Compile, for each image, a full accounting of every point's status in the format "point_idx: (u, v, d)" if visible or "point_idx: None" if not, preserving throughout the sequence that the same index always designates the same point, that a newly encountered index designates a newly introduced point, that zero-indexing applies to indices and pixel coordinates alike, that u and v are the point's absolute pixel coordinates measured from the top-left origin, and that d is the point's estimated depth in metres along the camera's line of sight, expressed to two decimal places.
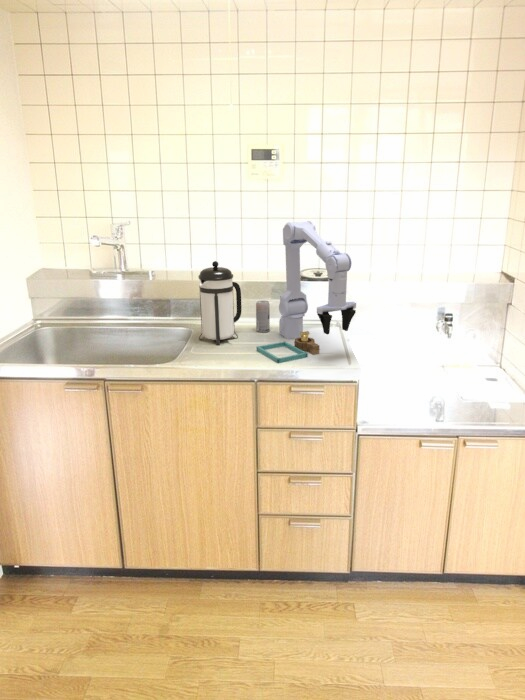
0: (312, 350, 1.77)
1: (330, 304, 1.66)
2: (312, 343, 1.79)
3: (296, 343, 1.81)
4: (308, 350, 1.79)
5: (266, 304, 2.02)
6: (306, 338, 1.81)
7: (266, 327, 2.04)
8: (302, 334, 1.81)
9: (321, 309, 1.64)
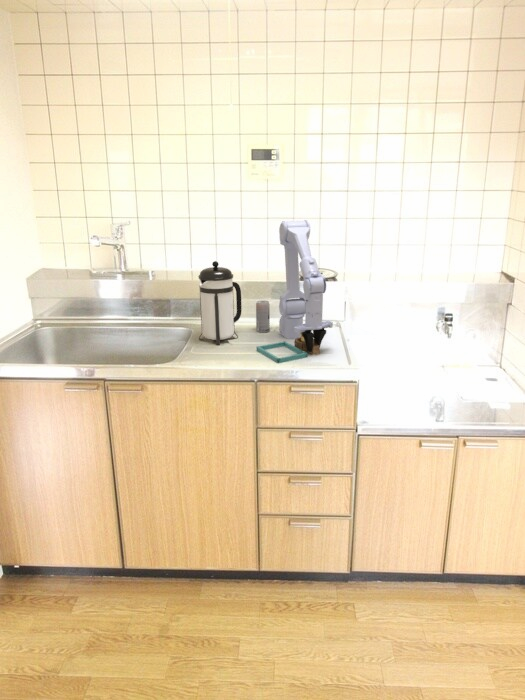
0: (312, 350, 1.77)
1: (307, 324, 1.74)
2: None
3: (296, 343, 1.81)
4: None
5: (266, 304, 2.02)
6: None
7: (266, 327, 2.04)
8: None
9: (298, 329, 1.72)
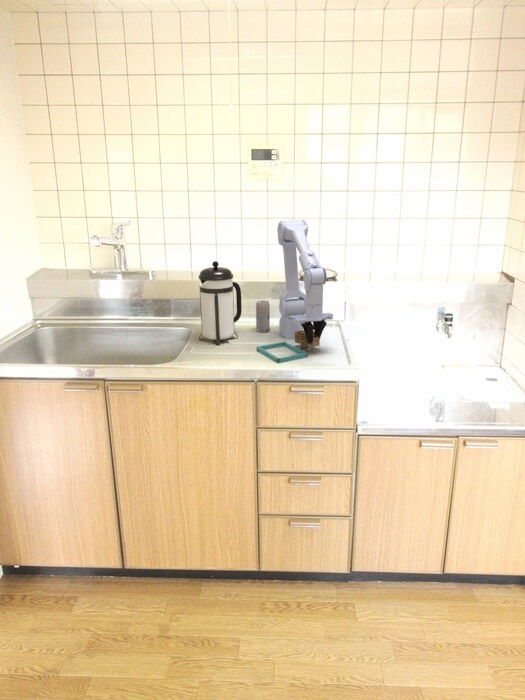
0: (312, 342, 1.76)
1: (307, 315, 1.73)
2: None
3: (296, 336, 1.80)
4: None
5: (266, 304, 2.02)
6: None
7: (266, 327, 2.04)
8: (302, 334, 1.81)
9: (298, 320, 1.71)
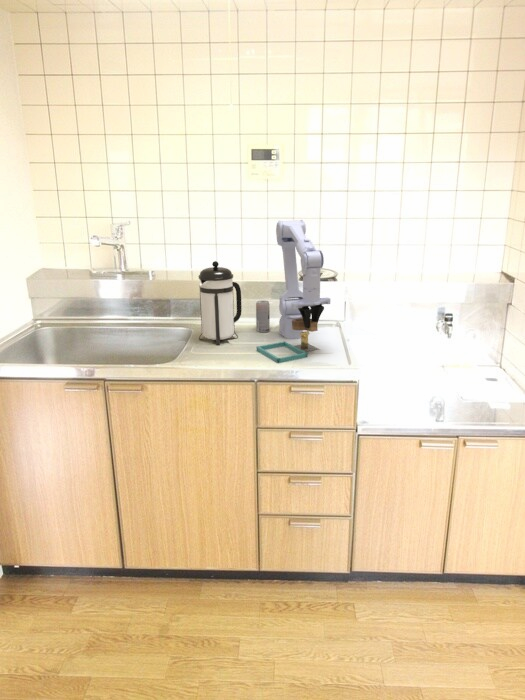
0: None
1: (304, 300, 1.71)
2: (310, 321, 1.76)
3: (293, 323, 1.78)
4: (306, 328, 1.76)
5: (266, 304, 2.02)
6: (306, 338, 1.81)
7: (266, 327, 2.04)
8: (302, 334, 1.81)
9: (295, 304, 1.68)
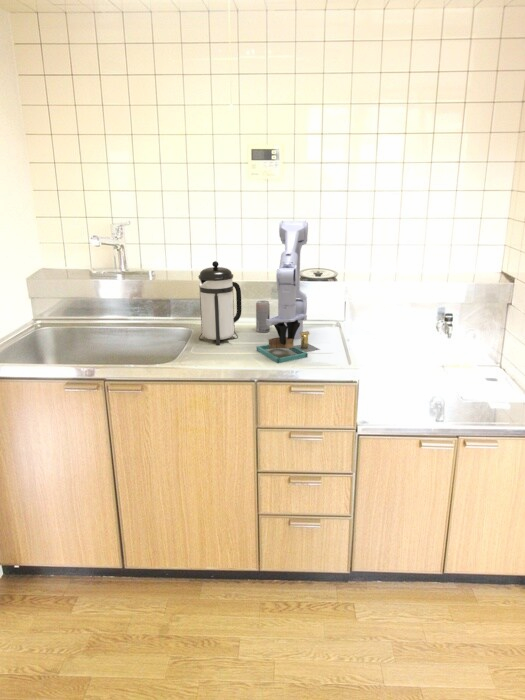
0: (285, 344, 1.72)
1: (280, 316, 1.69)
2: None
3: (270, 341, 1.76)
4: (282, 346, 1.74)
5: (266, 304, 2.02)
6: (306, 338, 1.81)
7: (266, 327, 2.04)
8: (302, 334, 1.81)
9: (270, 321, 1.67)
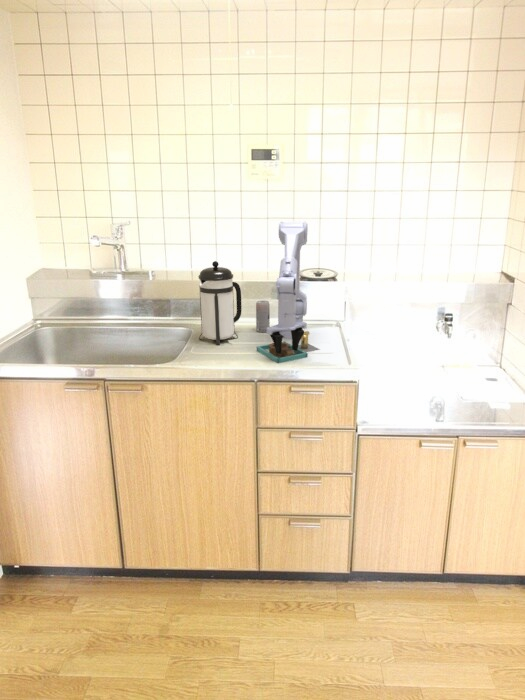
0: (286, 356, 1.73)
1: (280, 325, 1.70)
2: (286, 349, 1.75)
3: (270, 348, 1.77)
4: (282, 356, 1.75)
5: (266, 304, 2.02)
6: (306, 338, 1.81)
7: (266, 327, 2.04)
8: None
9: (270, 330, 1.68)
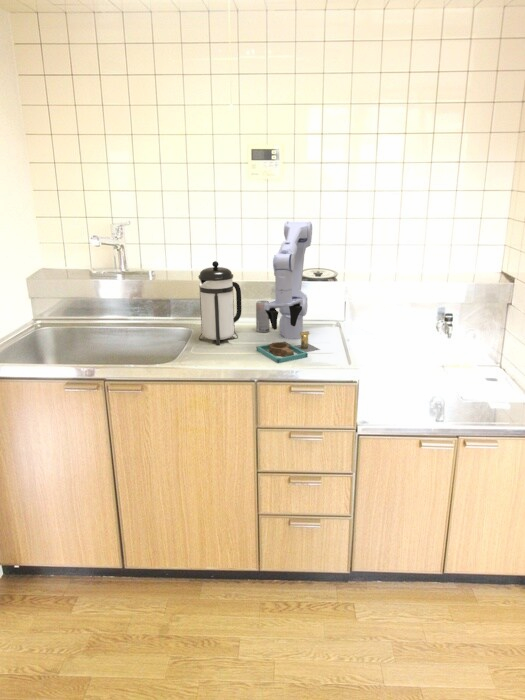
0: (286, 356, 1.73)
1: (277, 301, 1.75)
2: (286, 349, 1.75)
3: (270, 348, 1.77)
4: (282, 356, 1.75)
5: None
6: (306, 338, 1.81)
7: (266, 327, 2.04)
8: (302, 334, 1.81)
9: (268, 305, 1.72)
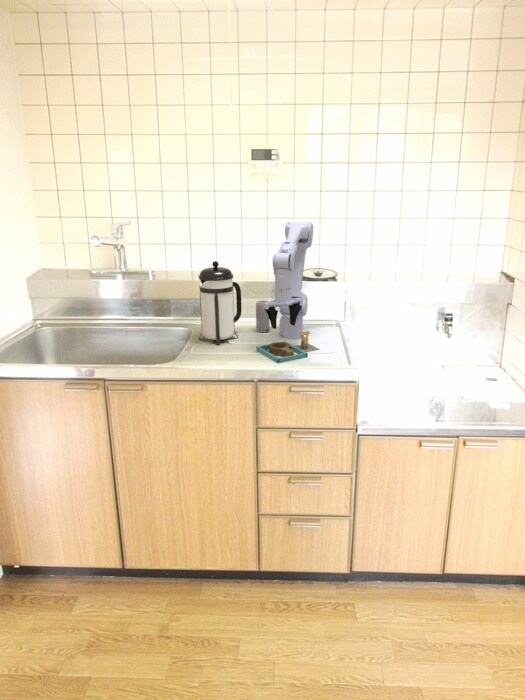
0: (286, 356, 1.73)
1: (276, 300, 1.75)
2: (286, 349, 1.75)
3: (270, 348, 1.77)
4: (282, 356, 1.75)
5: None
6: (306, 338, 1.81)
7: (266, 327, 2.04)
8: (302, 334, 1.81)
9: (267, 304, 1.73)
